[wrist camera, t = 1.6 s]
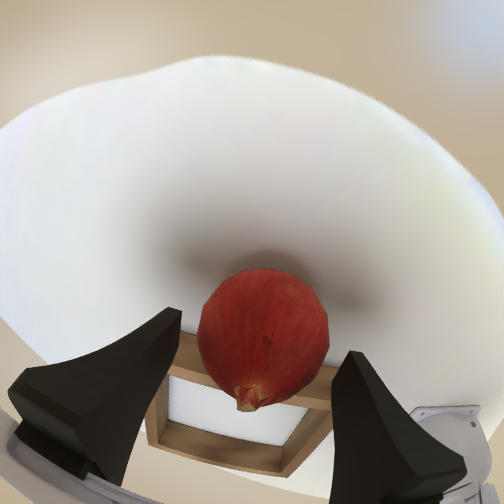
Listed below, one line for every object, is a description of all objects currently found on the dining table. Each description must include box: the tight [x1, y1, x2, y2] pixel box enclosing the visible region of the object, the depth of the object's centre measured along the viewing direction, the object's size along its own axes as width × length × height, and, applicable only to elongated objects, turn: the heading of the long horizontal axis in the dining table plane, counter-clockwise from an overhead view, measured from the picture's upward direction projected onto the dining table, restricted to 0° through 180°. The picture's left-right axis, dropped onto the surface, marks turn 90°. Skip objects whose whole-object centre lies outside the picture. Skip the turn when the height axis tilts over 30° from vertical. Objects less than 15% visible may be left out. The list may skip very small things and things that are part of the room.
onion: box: [197, 269, 329, 412], centre depth 12 cm, size 6×6×8 cm
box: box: [144, 331, 339, 478], centre depth 19 cm, size 13×13×3 cm
